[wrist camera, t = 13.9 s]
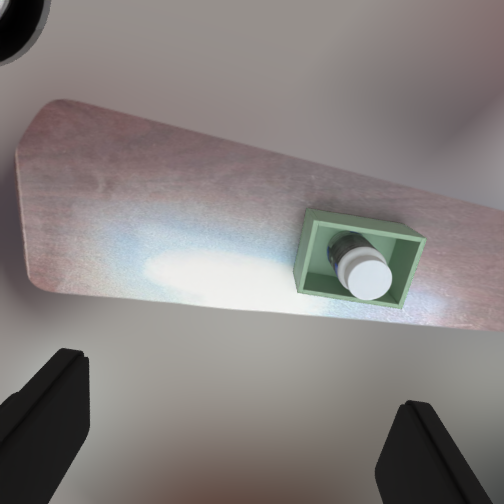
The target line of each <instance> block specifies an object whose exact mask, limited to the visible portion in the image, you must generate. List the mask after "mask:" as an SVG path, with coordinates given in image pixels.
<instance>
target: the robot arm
mask: <svg viewBox="0 0 504 504" xmlns="http://www.w3.org/2000/svg"><path fill="white" fill-rule="evenodd" d="M11 1H12V0H0V20H1V19H2V18H3V17H4V15H5V14H6V12H7V10H8V9H9V7H10V4H11ZM89 396H90V392H89V358H88V357H84V353H83V351H79V350H72V349H66V348H61V349H60V350H58V351H57V352H56V353H55V354H54V355H53V356H52V357H51V359H50V360H49V361H48V362H47V363H46V364H45V365H44V366H43V367H42V368H41V369H40V370H39V371H38V372H37V373H36V374H35V375H34V377H32V378H31V379H30V380H29V382H28V383H27V384H26V385H25V386H24V387H23V388H22V389H21V390H20V391H19V392H16V393H14V394H12V395H11V396H9V397H8V398H7V399H6V400H5V401H4V402H3V403H2V404H1V405H0V504H48V503H49V501H50V499H51V498H52V496H53V494H54V492H55V491H56V489H57V487H58V486H59V484H60V482H61V480H62V479H63V477H64V475H65V474H66V472H67V470H68V468H69V467H70V465H71V463H72V461H73V460H74V458H75V457H76V455H77V453H78V451H79V450H80V448H81V446H82V444H83V443H84V441H85V439H86V437H87V435H88V432H89V428H90V397H89ZM375 479H376V483H377V486H378V489H379V492H380V495H381V498H382V501H383V504H493V503H492V502H491V500H490V498H489V497H488V495H487V494H486V492H485V490H484V489H483V487H482V486H481V484H480V483H479V481H478V479H477V478H476V476H475V474H474V473H473V471H472V470H471V468H470V466H469V465H468V464H467V462H466V460H465V458H464V457H463V455H462V454H461V452H460V450H459V449H458V447H457V446H456V444H455V443H454V441H453V439H452V438H451V436H450V434H449V433H448V431H447V430H446V428H445V426H444V425H443V423H442V422H441V420H440V418H439V417H438V415H437V414H436V412H435V411H434V409H433V407H432V406H431V405H430V404H429V403H425V402H419V401H412V400H408V401H406V403H405V404H402V405H400V407H399V409H398V411H397V414H396V416H395V419H394V422H393V424H392V427H391V429H390V432H389V434H388V437H387V439H386V442H385V444H384V447H383V449H382V452H381V454H380V457H379V459H378V462H377V464H376V467H375Z"/></svg>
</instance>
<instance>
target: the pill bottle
mask: <svg viewBox="0 0 504 504" xmlns="http://www.w3.org/2000/svg"><path fill="white" fill-rule="evenodd" d="M327 258H328V260H329V262H330V264H331V266H332V268H333V270H334V271H335V273H336V275H337V277H338V279H339V281H340V282H341V284H342V285H343V286H344V287H345V288H346V289H348V290H349V291H350V292H351V293H352V294H353V295H354V296H355V297H357V298H359V299H362V300H373V299H377V298H379V297H381V296H382V295H384V294H385V293H386V292H387V291H388V289H389V288H390V285H391V283H392V274H391V271H390V269H389V267H388V266H387V263H386V260H385V258H384V257H383V255H382V254H381V253H380V252H379V251H378V250H377V249H376V248H375V247H374V246H373V245H372V244H371V243H370V242H369V241H368V240H367V239H366V238H365V237H364V236H363V235H361V234H360V233H358V232H354V231H343V232H340V233H338V234H337V235H335V236H334V237H333V238H332V239H331V240H330V242H329V244H328V246H327Z"/></svg>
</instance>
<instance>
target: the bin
mask: <svg viewBox="0 0 504 504" xmlns="http://www.w3.org/2000/svg"><path fill="white" fill-rule="evenodd" d="M343 231H354V232H358V233H360V234H361V235H363V236H364V237H365V238H366V239H367V240H368V241H369V242H370V243H371V244H372V245H373V246H374V247H375V248H376V249H377V250H378V251H379V252H380V253H381V254H382V255H383V257H384V258H385V260H386V263H387V266H388V267H389V269H390V271H391V274H392V283H391V285H390V288H389V289H388V291H387V292H386V293H385V294H384V295H382V296H381V297H379V298H377V299H373V300H362V299H359V298H357V297H355V296H354V295H353V294H352V293H351V292H350V291H349V290H348V289H346V288H345V287H344V286H343V285H342V284H341V282H340V281H339V279H338V277H337V275H336V273H335V271H334V270H333V268H332V266H331V264H330V262H329V260H328V258H327V246H328V244H329V242H330V240H331V239H332V238H333V237H334V236H335V235H337V234H338V233H340V232H343ZM426 240H427V238H426V237H424V236H422V235H421V234H419V233H418V232H416V231H414V230H413V229H411V228H410V227H408V226H406V225H405V224H402V223H396V222H390V221H383V220H377V219H371V218H365V217H359V216H353V215H347V214H340V213H334V212H328V211H322V210H316V209H310V208H307V209H306V214H305V218H304V223H303V228H302V232H301V237H300V241H299V246H298V251H297V255H296V260H295V264H294V269H293V274H294V279H295V284H296V288H297V293H302V294H308V295H314V296H321V297H327V298H333V299H340V300H346V301H353V302H359V303H365V304H372V305H378V306H385V307H391V308H398V309H402V307H403V305H404V302H405V299H406V296H407V293H408V291H409V288H410V285H411V282H412V279H413V276H414V274H415V271H416V268H417V265H418V262H419V260H420V257H421V254H422V251H423V248H424V245H425V243H426Z"/></svg>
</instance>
